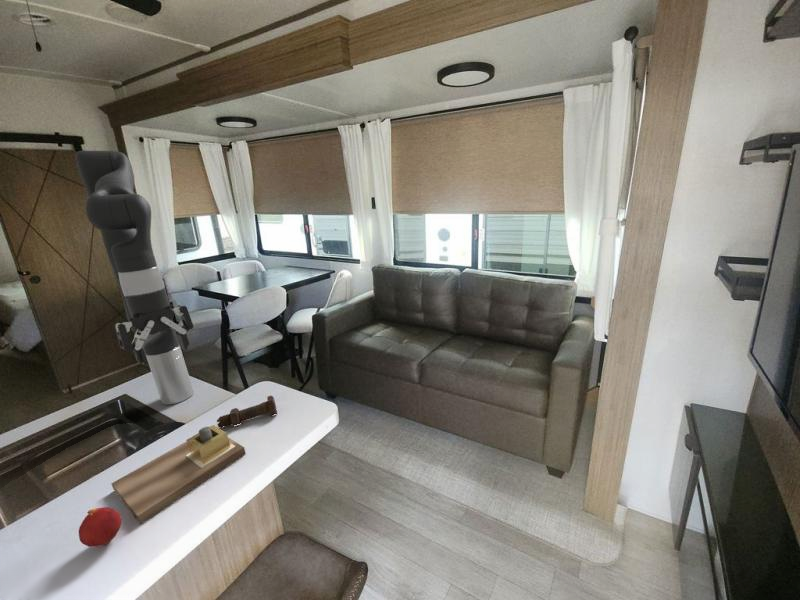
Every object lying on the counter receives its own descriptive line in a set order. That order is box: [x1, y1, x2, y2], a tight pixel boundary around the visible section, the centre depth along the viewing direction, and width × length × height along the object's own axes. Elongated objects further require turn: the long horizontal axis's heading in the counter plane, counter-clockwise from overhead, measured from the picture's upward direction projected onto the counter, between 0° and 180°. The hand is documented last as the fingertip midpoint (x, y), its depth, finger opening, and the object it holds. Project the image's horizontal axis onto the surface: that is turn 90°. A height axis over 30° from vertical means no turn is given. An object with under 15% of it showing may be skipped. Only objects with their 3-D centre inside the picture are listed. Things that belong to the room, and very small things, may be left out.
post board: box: [110, 426, 247, 525], centre depth 80 cm, size 16×22×8 cm
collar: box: [185, 424, 230, 464], centre depth 83 cm, size 6×6×4 cm
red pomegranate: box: [78, 506, 122, 547], centre depth 63 cm, size 6×6×8 cm
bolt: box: [216, 395, 278, 429], centre depth 98 cm, size 6×5×15 cm
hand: (165, 355), depth 82 cm, fingers open, 8 cm apart
